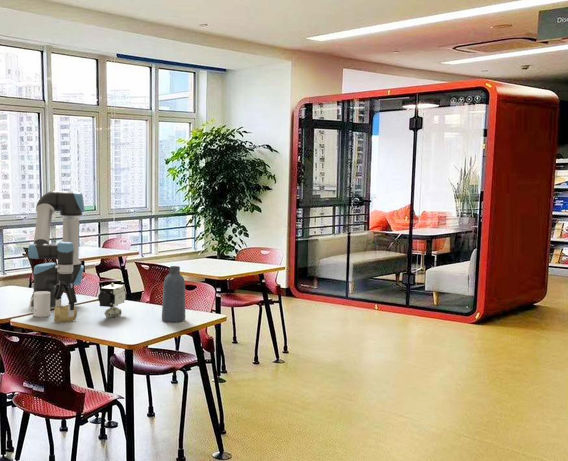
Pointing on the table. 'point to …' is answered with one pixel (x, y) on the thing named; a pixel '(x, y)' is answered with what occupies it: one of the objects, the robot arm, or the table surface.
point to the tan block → (63, 314)
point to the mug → (41, 304)
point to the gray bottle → (174, 297)
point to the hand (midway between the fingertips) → (64, 314)
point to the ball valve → (112, 299)
